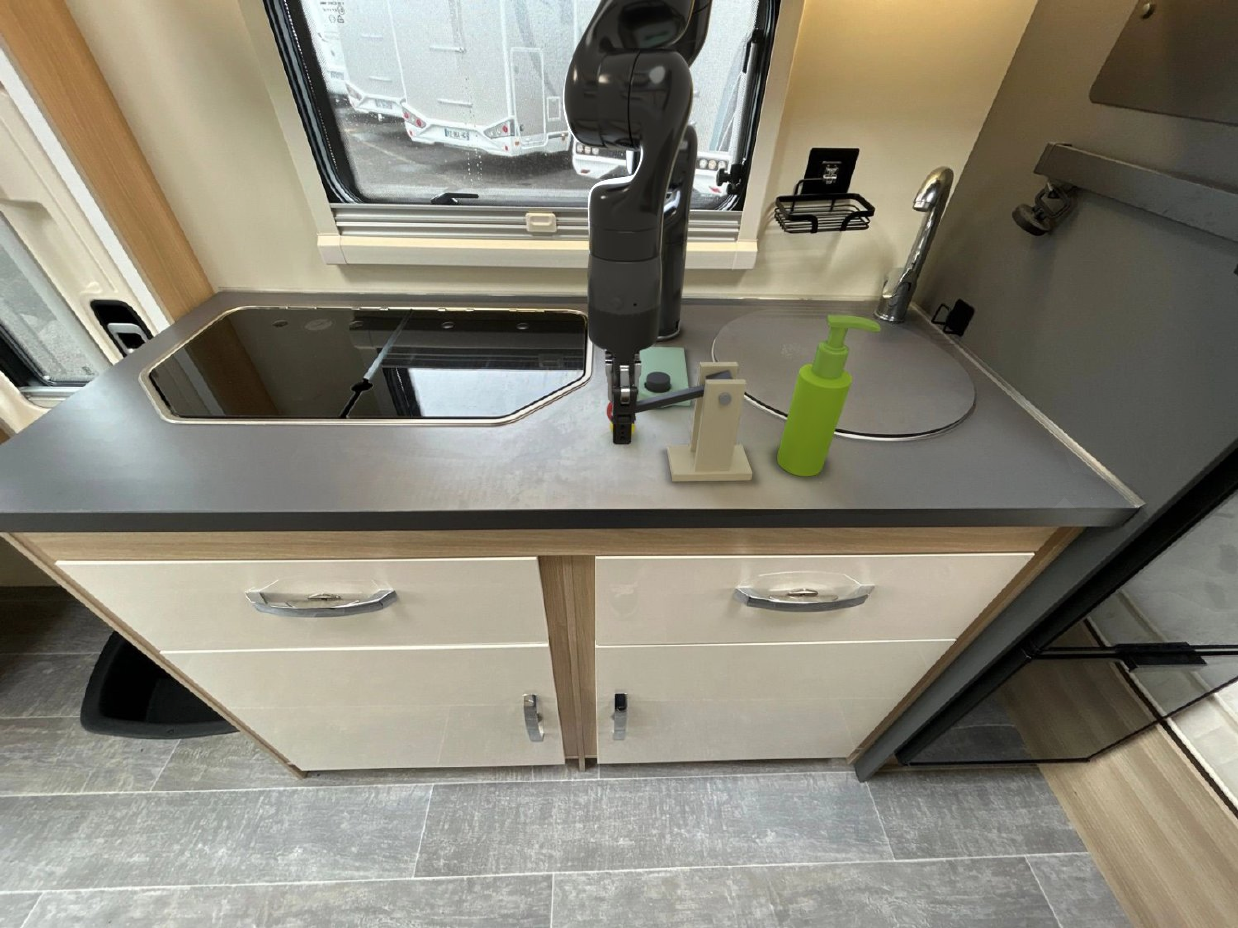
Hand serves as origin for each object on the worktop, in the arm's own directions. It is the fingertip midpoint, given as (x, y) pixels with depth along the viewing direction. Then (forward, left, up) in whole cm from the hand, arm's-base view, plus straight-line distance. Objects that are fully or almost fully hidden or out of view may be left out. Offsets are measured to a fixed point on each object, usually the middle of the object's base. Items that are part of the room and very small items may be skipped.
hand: (621, 432), depth 64 cm
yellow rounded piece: (-6, +6, -6) cm, 10 cm away
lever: (+4, +5, +3) cm, 7 cm away
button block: (-14, +21, -6) cm, 25 cm away
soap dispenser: (+15, +19, -6) cm, 25 cm away
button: (-8, +15, -3) cm, 18 cm away
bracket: (+7, +9, -6) cm, 13 cm away
